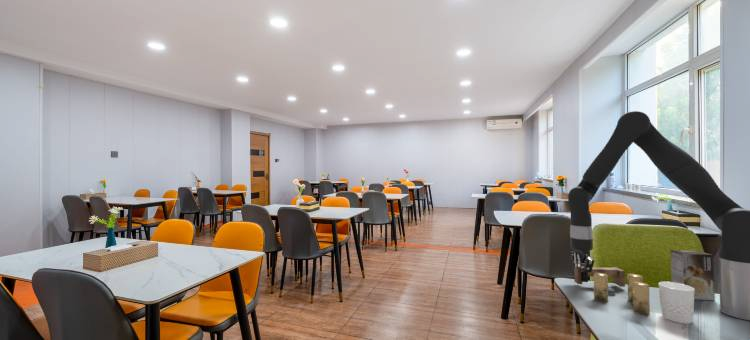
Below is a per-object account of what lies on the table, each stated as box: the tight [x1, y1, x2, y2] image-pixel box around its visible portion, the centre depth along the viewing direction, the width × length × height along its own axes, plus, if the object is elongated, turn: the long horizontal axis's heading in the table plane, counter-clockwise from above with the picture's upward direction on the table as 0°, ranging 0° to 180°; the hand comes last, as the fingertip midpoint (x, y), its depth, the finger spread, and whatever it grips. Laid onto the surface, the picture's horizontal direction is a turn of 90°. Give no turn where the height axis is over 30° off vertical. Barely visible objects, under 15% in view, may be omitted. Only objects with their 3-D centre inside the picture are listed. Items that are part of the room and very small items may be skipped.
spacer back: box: [632, 282, 651, 316], centre depth 99 cm, size 4×4×9 cm
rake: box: [573, 266, 626, 288], centre depth 122 cm, size 16×5×6 cm, turn 82°
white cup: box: [658, 281, 695, 325], centre depth 94 cm, size 8×8×10 cm
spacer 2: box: [627, 273, 644, 304], centre depth 107 cm, size 4×4×9 cm
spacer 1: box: [593, 273, 609, 303], centre depth 109 cm, size 4×4×9 cm
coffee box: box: [670, 249, 716, 301], centre depth 112 cm, size 9×6×16 cm
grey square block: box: [608, 286, 616, 296], centre depth 115 cm, size 4×4×2 cm
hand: (582, 280), depth 123 cm, fingers closed on rake, 3 cm apart
